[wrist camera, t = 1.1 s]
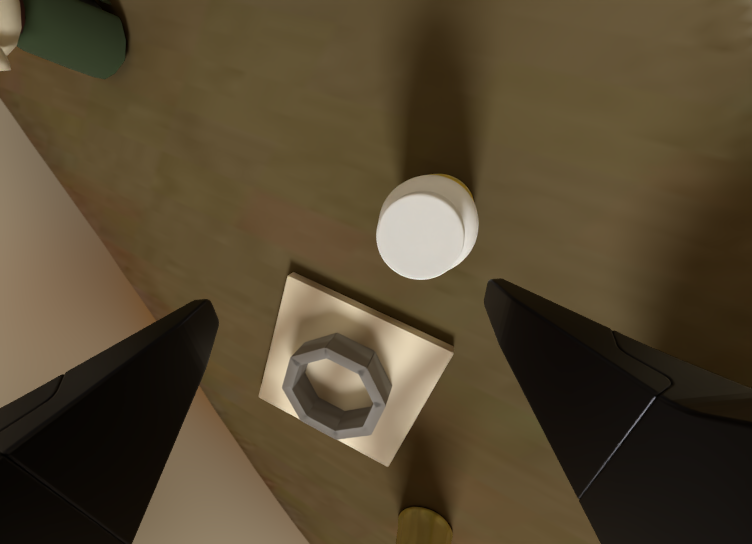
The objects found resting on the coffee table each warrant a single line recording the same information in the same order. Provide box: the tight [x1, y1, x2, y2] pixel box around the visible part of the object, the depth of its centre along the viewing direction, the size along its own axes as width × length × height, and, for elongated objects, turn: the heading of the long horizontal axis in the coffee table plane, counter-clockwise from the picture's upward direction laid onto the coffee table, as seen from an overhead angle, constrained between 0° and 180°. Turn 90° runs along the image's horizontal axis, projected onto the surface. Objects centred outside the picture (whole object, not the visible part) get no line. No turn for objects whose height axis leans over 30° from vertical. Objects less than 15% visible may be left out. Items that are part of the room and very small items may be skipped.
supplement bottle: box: [376, 174, 479, 280], centre depth 17 cm, size 5×5×10 cm
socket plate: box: [259, 272, 454, 467], centre depth 27 cm, size 16×16×4 cm
